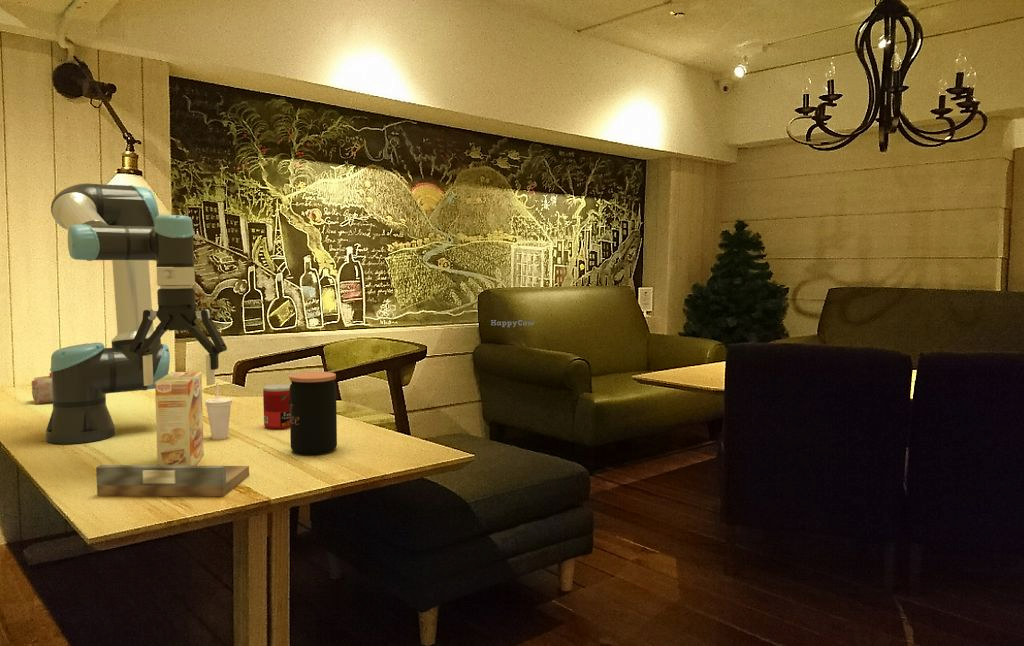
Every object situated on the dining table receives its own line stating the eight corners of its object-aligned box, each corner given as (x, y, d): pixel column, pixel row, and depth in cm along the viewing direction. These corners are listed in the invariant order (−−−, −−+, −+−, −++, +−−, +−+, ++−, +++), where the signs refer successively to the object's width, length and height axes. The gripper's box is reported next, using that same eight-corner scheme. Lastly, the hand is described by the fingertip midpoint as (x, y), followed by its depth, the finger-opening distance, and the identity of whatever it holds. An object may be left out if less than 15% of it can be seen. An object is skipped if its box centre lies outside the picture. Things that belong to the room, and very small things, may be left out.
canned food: (285, 430, 198) (285, 389, 198) (258, 429, 200) (257, 388, 199) (299, 424, 206) (299, 384, 205) (273, 423, 207) (272, 383, 207)
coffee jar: (295, 445, 183) (294, 371, 181) (340, 444, 184) (339, 371, 182) (286, 456, 172) (284, 378, 171) (333, 455, 173) (332, 378, 172)
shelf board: (96, 496, 143) (94, 467, 142) (134, 474, 157) (133, 448, 157) (222, 496, 143) (221, 468, 142) (249, 475, 157) (248, 449, 157)
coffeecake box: (192, 472, 160) (189, 380, 158) (156, 473, 158) (152, 381, 156) (205, 454, 174) (203, 370, 173) (172, 455, 173) (169, 371, 171)
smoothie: (226, 433, 195) (225, 380, 193) (237, 438, 190) (236, 383, 189) (201, 437, 190) (200, 382, 189) (212, 442, 185) (210, 386, 184)
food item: (32, 406, 231) (30, 374, 230) (32, 401, 238) (30, 370, 237) (83, 401, 238) (82, 370, 237) (82, 397, 245) (80, 367, 244)
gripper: (109, 288, 159) (113, 387, 161) (227, 287, 159) (230, 387, 161) (127, 287, 167) (131, 382, 168) (240, 286, 167) (243, 381, 168)
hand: (179, 384), depth 164 cm, fingers open, 13 cm apart
